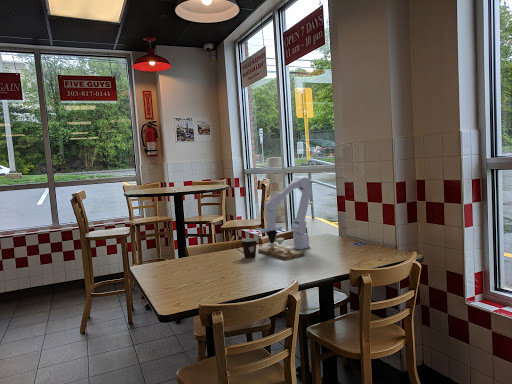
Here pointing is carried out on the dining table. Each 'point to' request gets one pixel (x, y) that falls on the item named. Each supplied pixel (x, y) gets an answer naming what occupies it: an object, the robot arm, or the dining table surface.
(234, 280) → the dining table surface
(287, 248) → the ivory knob
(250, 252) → the coffee mug
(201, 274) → the dining table surface
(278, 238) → the middle sage knob
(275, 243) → the ivory knob
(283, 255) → the knob board
